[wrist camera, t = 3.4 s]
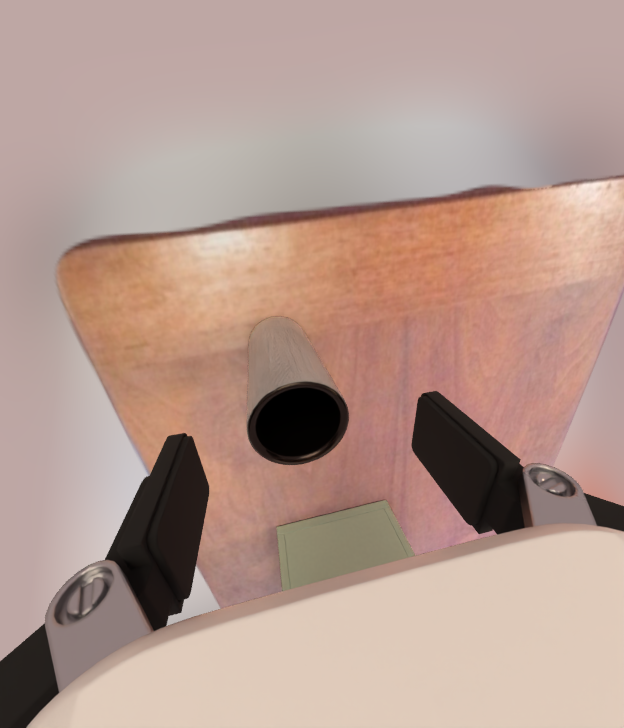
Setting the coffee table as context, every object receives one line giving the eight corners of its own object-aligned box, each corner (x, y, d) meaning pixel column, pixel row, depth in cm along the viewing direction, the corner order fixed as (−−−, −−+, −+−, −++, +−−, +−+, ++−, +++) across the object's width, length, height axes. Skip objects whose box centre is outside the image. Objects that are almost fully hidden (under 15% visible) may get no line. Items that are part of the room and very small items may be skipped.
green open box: (288, 587, 36) (296, 659, 30) (276, 526, 30) (283, 601, 23) (379, 560, 38) (405, 623, 32) (386, 499, 32) (418, 561, 26)
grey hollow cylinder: (253, 373, 21) (256, 475, 12) (243, 319, 19) (237, 392, 10) (308, 365, 22) (349, 455, 13) (303, 312, 20) (350, 373, 11)
